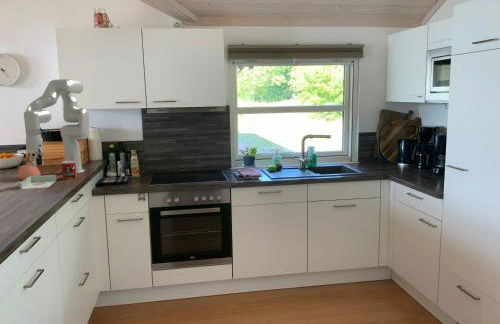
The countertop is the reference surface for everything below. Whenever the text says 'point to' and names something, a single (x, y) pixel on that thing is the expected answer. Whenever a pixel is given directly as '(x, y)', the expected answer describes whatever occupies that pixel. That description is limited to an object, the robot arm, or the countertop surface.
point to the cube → (34, 161)
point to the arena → (37, 181)
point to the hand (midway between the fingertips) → (37, 164)
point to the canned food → (69, 170)
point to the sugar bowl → (27, 171)
